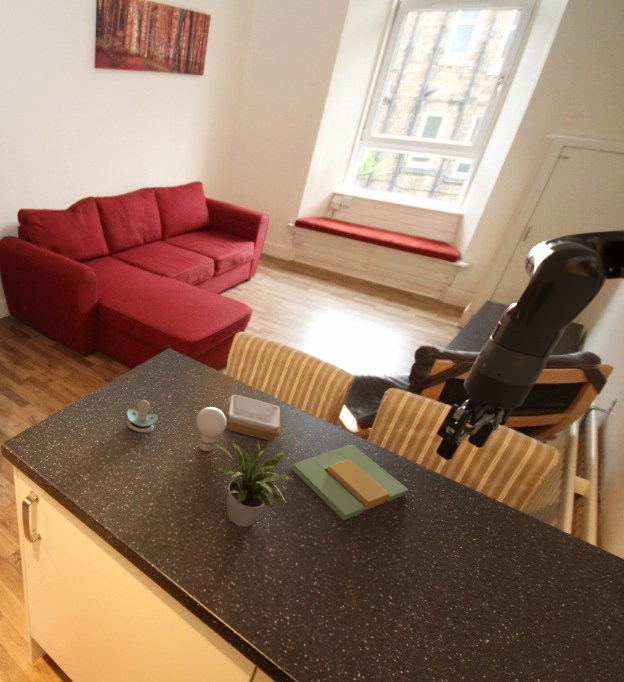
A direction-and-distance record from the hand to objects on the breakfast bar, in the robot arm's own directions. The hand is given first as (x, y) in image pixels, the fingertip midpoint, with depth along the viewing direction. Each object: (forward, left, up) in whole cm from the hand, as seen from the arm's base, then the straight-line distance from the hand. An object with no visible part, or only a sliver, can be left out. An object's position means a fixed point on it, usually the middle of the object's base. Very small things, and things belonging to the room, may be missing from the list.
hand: (459, 450), depth 76 cm
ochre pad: (+3, -11, -19) cm, 22 cm away
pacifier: (+37, -43, -19) cm, 60 cm away
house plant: (+32, -14, -19) cm, 40 cm away
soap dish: (+12, -34, -19) cm, 41 cm away
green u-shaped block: (+3, -13, -19) cm, 23 cm away
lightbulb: (+27, -31, -19) cm, 45 cm away
